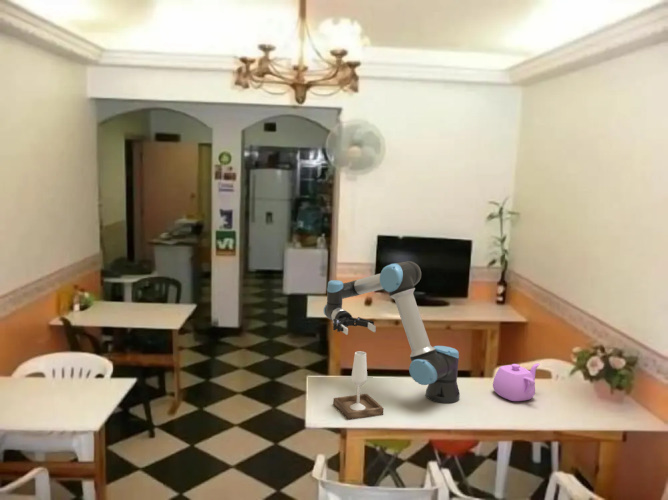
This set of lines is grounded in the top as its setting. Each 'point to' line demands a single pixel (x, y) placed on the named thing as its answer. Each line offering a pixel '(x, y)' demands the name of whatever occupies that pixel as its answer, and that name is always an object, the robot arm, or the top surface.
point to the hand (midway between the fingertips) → (361, 330)
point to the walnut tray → (369, 411)
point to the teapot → (515, 382)
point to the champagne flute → (359, 376)
